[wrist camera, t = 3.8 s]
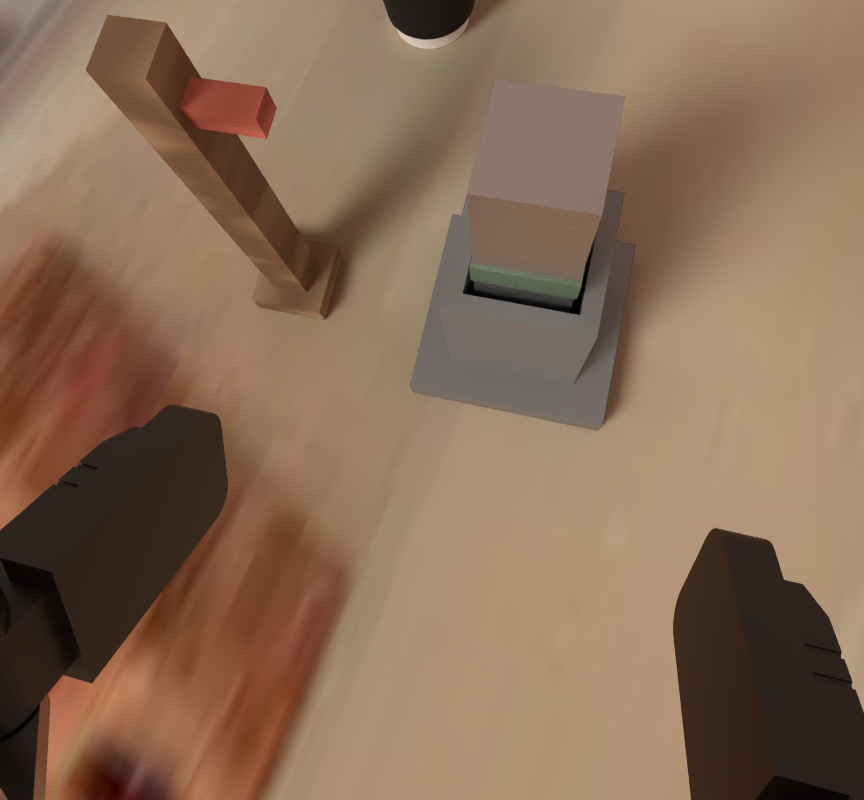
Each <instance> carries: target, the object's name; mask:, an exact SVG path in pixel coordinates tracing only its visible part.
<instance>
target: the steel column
mask: <svg viewBox="0 0 864 800" xmlns="http://www.w3.org/2000/svg"><path fill="white" fill-rule="evenodd" d="M624 100H625V96H618V95H611V94H603V93H595V92H588V91H580V90H573V89H565V88H558V87H550V86H543V85H535V84H528V83H520V82H512V81H505V80H497V79H495V82H494V86H493V90H492V94H491V98H490V102H489V106H488V110H487V114H486V118H485V123H484V127H483V131H482V135H481V139H480V143H479V147H478V151H477V155H476V159H475V164H474V168H473V172H472V176H471V180H470V184H469V188H468V192H467V199H468V212H469V225H470V238H471V252H472V258H471V263H470V267H469V269H470V280H472V281H474V291H475V296H478V297H483V298H489V299H494V300H500V301H505V302H511V303H516V304H522V305H527V306H533V307H538V308H543V309H549V310H554V311H560V312H565V313H569V312H570V309H571V306H572V303H573V300H574V299H577V297H578V295H579V292H580V289H581V285H582V280H583V275H584V270H585V265H586V261H587V258H588V256H589V253H590V250H591V247H592V244H593V241H594V238H595V235H596V232H597V229H598V226H599V223H600V220H601V217H602V213H603V208H604V203H605V197H606V192H607V187H608V182H609V177H610V172H611V167H612V162H613V157H614V151H615V146H616V141H617V136H618V131H619V126H620V121H621V116H622V111H623V105H624Z"/></svg>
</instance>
